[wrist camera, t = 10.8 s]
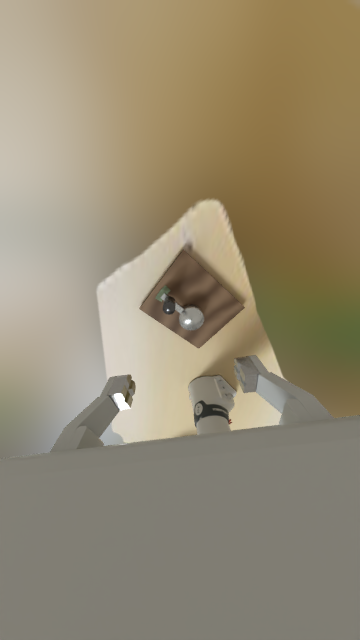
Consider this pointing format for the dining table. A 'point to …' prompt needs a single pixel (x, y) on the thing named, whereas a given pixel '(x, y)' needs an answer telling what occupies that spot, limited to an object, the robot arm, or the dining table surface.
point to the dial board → (192, 300)
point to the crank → (183, 313)
